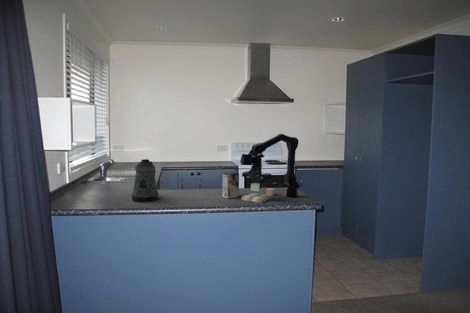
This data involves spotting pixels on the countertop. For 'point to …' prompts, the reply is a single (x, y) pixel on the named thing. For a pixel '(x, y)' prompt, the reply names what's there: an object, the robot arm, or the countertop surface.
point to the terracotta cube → (270, 191)
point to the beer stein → (145, 182)
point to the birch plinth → (256, 197)
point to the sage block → (255, 187)
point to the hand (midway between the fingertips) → (256, 188)
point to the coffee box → (230, 185)
